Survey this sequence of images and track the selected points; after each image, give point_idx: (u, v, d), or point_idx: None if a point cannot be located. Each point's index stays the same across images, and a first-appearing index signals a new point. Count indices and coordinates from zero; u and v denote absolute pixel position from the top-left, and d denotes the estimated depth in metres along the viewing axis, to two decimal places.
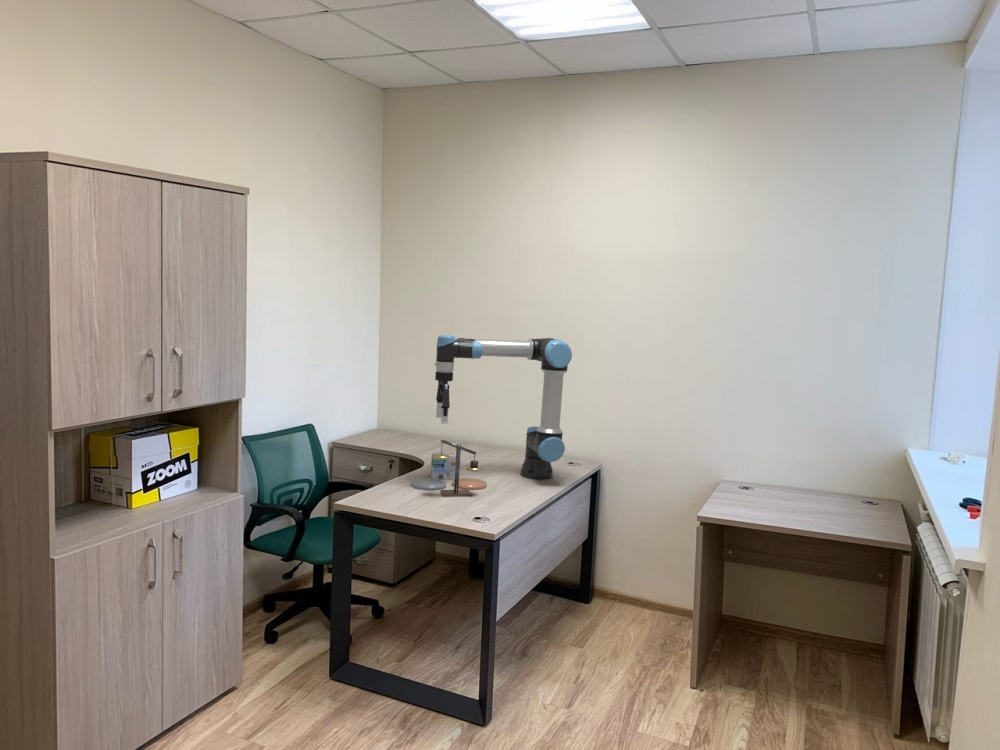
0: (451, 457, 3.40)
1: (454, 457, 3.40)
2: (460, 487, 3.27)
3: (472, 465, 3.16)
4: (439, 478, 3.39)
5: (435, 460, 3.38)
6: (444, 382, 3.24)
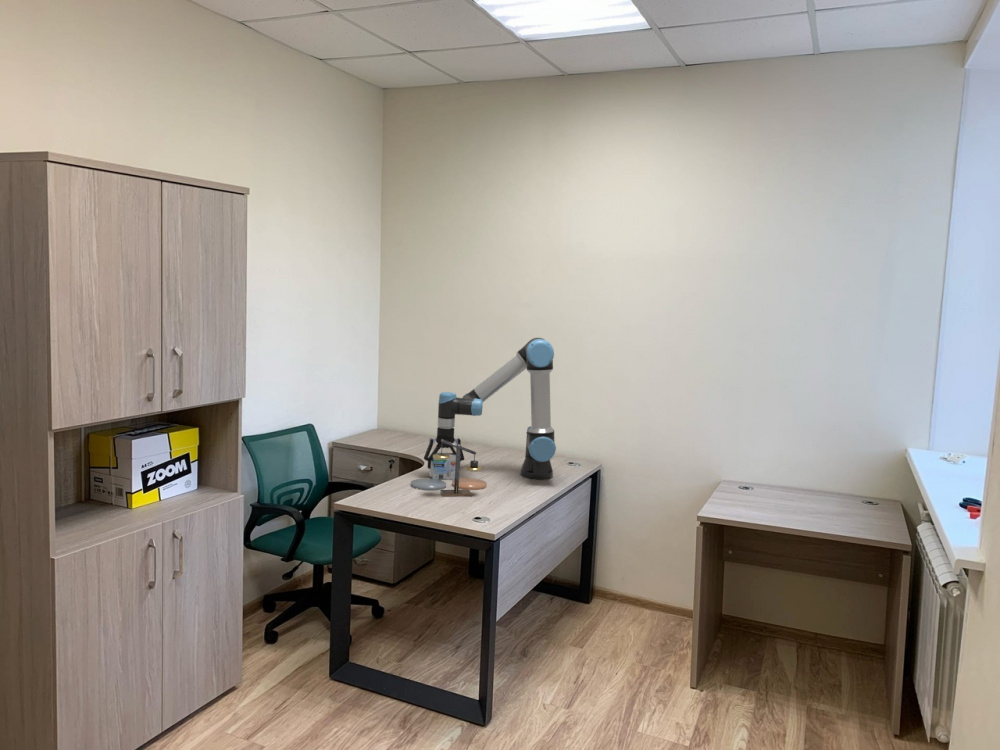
0: (451, 457, 3.40)
1: (454, 457, 3.40)
2: (460, 487, 3.27)
3: (472, 465, 3.16)
4: (439, 478, 3.39)
5: (435, 460, 3.38)
6: (437, 436, 3.40)
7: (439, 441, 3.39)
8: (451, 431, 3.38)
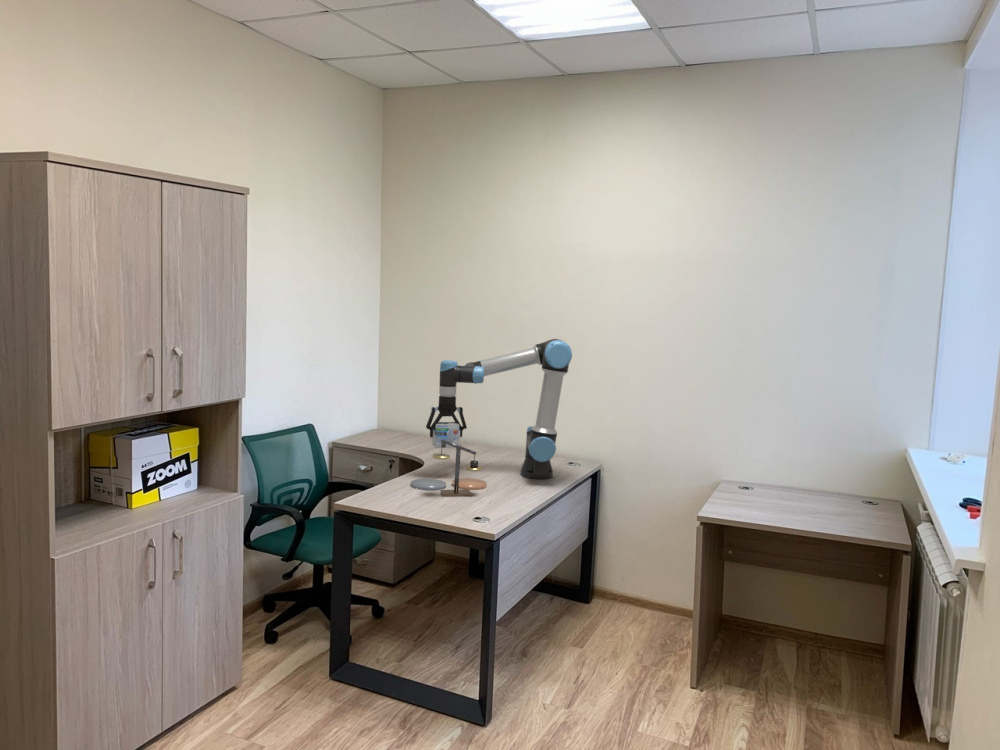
0: (453, 425, 3.38)
1: (456, 425, 3.39)
2: (460, 487, 3.27)
3: (472, 465, 3.16)
4: (442, 447, 3.38)
5: (437, 428, 3.36)
6: None
7: (441, 409, 3.38)
8: (453, 399, 3.37)
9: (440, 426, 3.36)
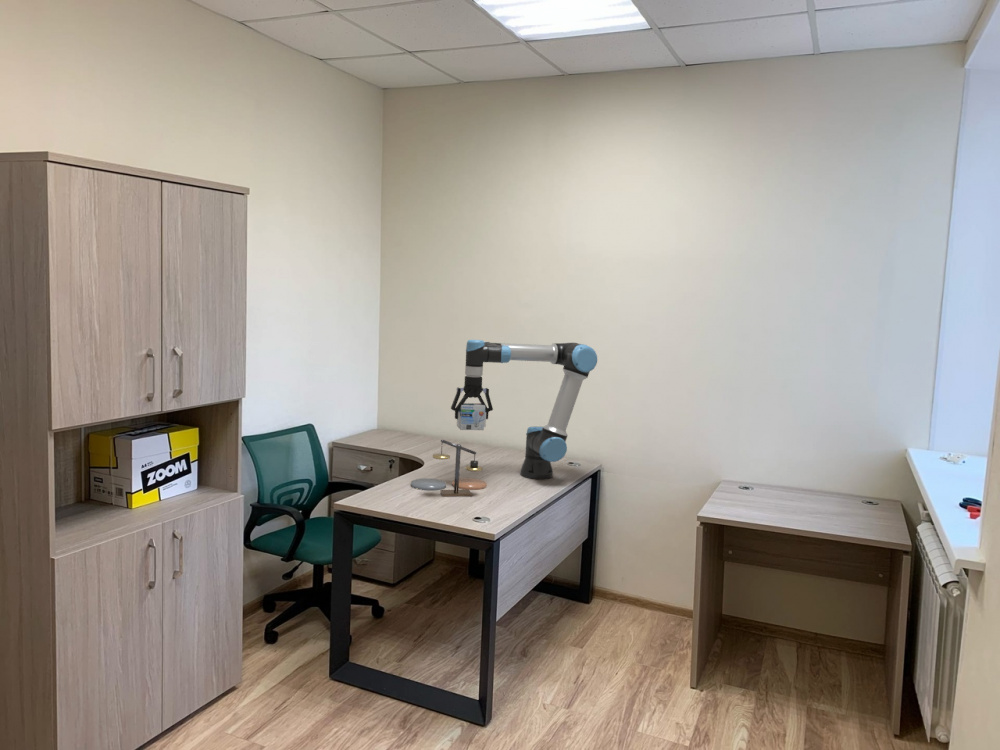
0: (479, 407, 3.28)
1: (482, 407, 3.28)
2: (460, 487, 3.27)
3: (472, 465, 3.16)
4: (467, 428, 3.27)
5: (463, 410, 3.26)
6: (464, 385, 3.28)
7: (467, 390, 3.27)
8: (479, 380, 3.26)
9: (465, 407, 3.26)
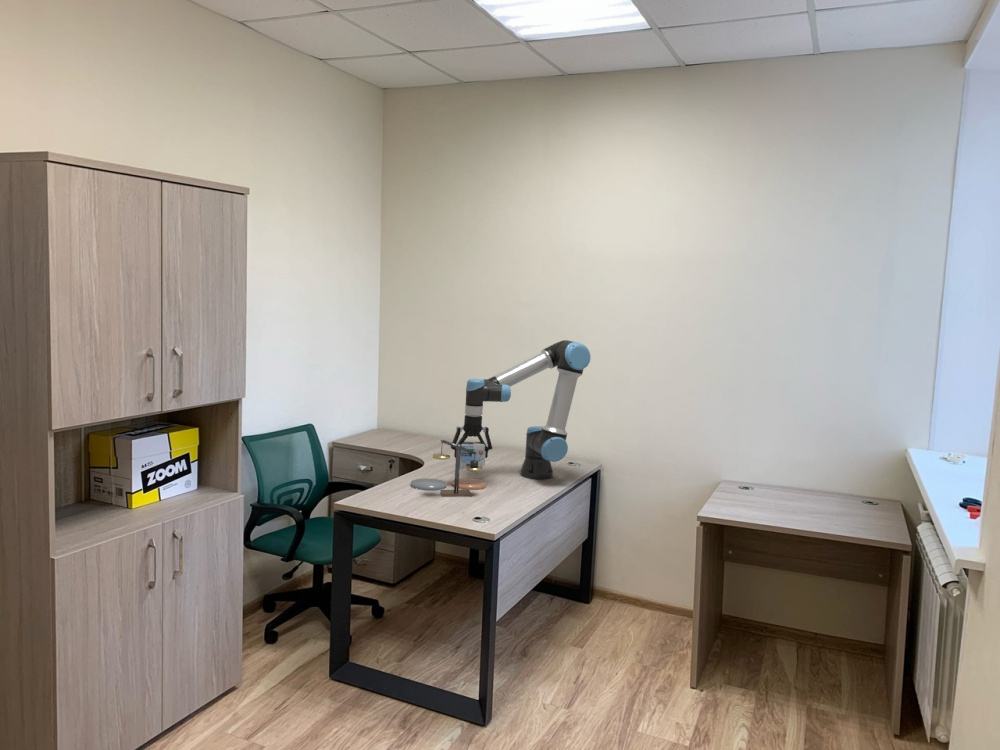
0: (479, 446, 3.29)
1: (482, 446, 3.29)
2: (460, 487, 3.27)
3: (472, 465, 3.16)
4: None
5: None
6: (464, 424, 3.29)
7: (466, 429, 3.29)
8: (479, 419, 3.27)
9: (465, 446, 3.27)
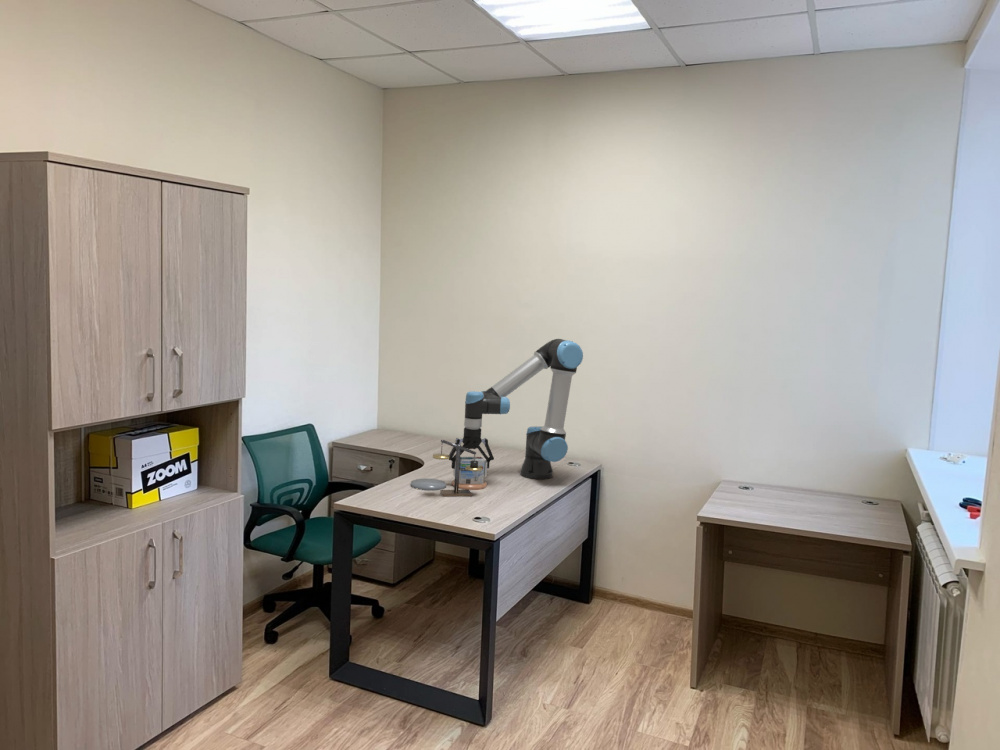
0: (479, 461, 3.30)
1: (482, 461, 3.30)
2: (460, 487, 3.27)
3: (472, 465, 3.16)
4: (466, 483, 3.29)
5: (462, 464, 3.28)
6: (463, 437, 3.30)
7: (466, 442, 3.29)
8: (478, 432, 3.28)
9: (465, 462, 3.28)
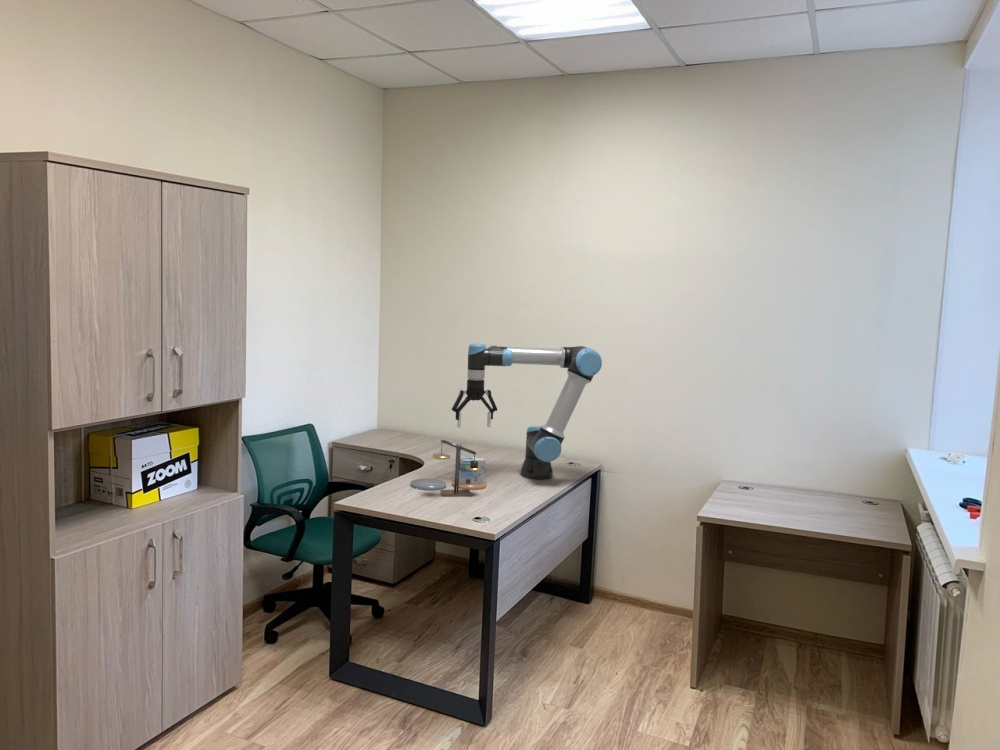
0: (479, 461, 3.30)
1: (482, 461, 3.30)
2: (460, 487, 3.27)
3: (472, 465, 3.16)
4: (466, 483, 3.29)
5: (462, 464, 3.28)
6: (467, 388, 3.34)
7: (469, 393, 3.33)
8: (482, 383, 3.32)
9: (465, 462, 3.28)
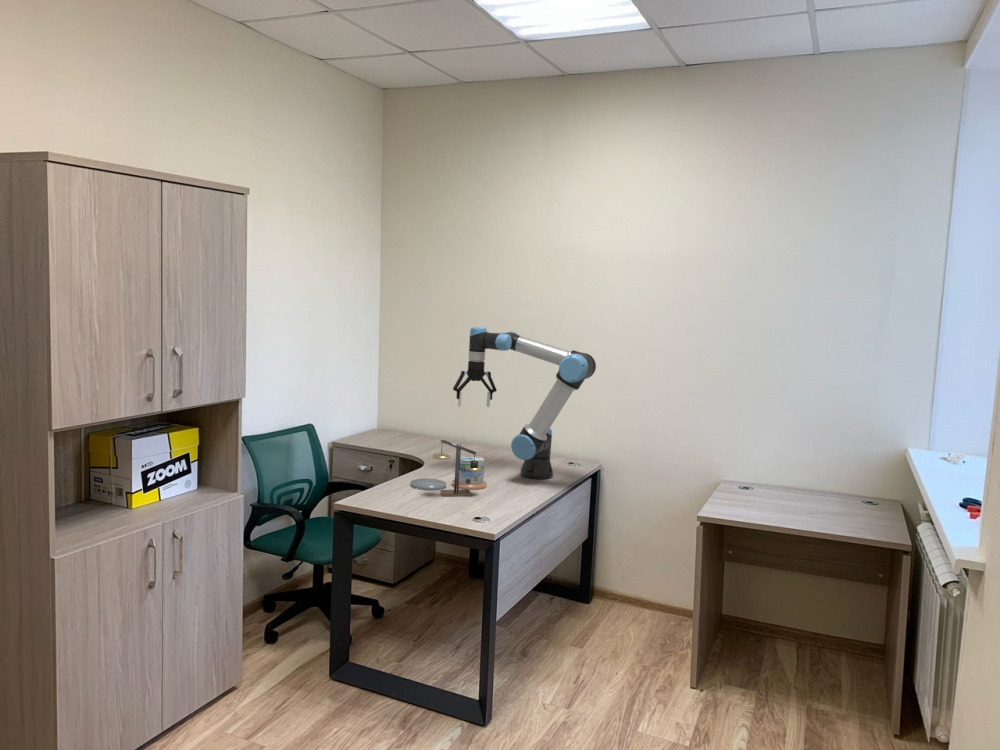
0: (479, 461, 3.30)
1: (482, 461, 3.30)
2: (460, 487, 3.27)
3: (472, 465, 3.16)
4: (466, 483, 3.29)
5: (462, 464, 3.28)
6: None
7: (470, 374, 3.51)
8: (482, 364, 3.49)
9: (465, 462, 3.28)
